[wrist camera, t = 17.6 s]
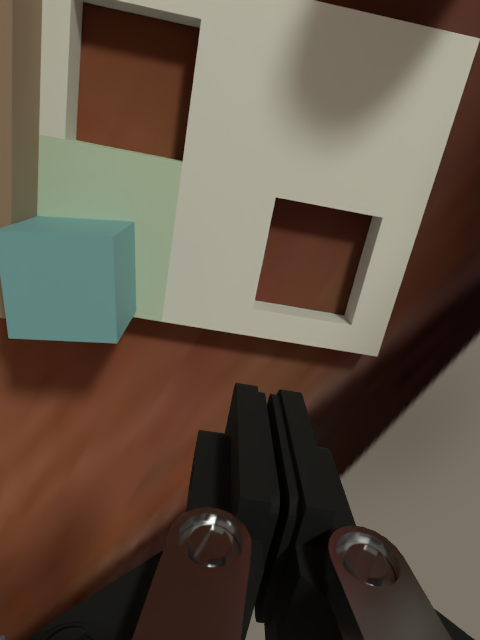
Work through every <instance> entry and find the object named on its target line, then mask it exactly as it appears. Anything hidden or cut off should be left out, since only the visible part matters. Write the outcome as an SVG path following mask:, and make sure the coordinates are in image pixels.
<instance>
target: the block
mask: <svg viewBox="0 0 480 640" xmlns="http://www.w3.org/2000/svg"><path fill="white" fill-rule="evenodd" d="M0 277H1V285H2V293H3V300H4V308H5V315H6V323H7V330H8V338H11V339H32V340H54V341H75V342H96V343H118V341H119V340H120V338H121V336H122V334H123V333H124V331H125V329H126V328H127V326H128V324H129V323H130V321H131V319H132V317H133V316H134V314H135V312H136V273H135V227H134V222H133V221H117V220H100V219H83V218H66V217H49V216H36V217H33V218H30V219H27V220H24V221H21V222H18V223H15V224H12V225H9V226H6V227H2V228H0Z"/></svg>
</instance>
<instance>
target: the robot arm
mask: <svg viewBox="0 0 480 640" xmlns="http://www.w3.org/2000/svg"><path fill="white" fill-rule="evenodd" d="M254 605H255V618H256V622H259V623H264V625H265V639H266V640H474V639H473V638H472V637H470V636H469V635H467V634H466V633H465V632H464V631H463V630H461V629H460V628H458V627H457V626H456V625H455V624H454V623H452V622H451V621H450V620H448V619H447V618H446V617H444V616H443V615H442V614H441V613H439V612H438V611H437V610H435V609H434V608H433V606H432V605H431V603H430V601H429V599H428V598H427V596H426V594H425V593H424V591H423V589H422V588H421V586H420V584H419V583H418V581H417V579H416V577H415V576H414V574H413V572H412V571H411V569H410V567H409V565H408V564H407V562H406V560H405V559H404V557H403V556H402V554H401V553H400V552H399V550H398V549H397V548H396V547H395V546H394V545H393V544H392V543H391V542H390V541H388V539H386V538H385V537H383V536H381V535H380V534H378V533H377V532H375V531H373V530H369V529H367V528H364V527H359V526H356V524H355V522H354V519H353V516H352V513H351V510H350V507H349V504H348V501H347V498H346V495H345V492H344V489H343V487H342V484H341V480H340V477H339V474H338V472H337V469H336V466H335V463H334V460H333V457H332V454H331V452H330V450H329V449H327V448H322V447H318V446H317V443H316V439H315V436H314V433H313V429H312V426H311V423H310V419H309V416H308V413H307V409H306V406H305V403H304V399H303V396H302V394H301V393H299V392H292V391H286V390H279V391H278V393H277V395H275V394H270V396H269V399H268V403H267V404H266V397H265V393H261V392H258V387H257V386H253V385H246V384H240V383H236V384H235V387H234V391H233V396H232V401H231V406H230V410H229V415H228V420H227V425H226V430H225V434H224V433H217V432H210V431H203V430H199V432H198V436H197V442H196V447H195V453H194V459H193V465H192V471H191V478H190V485H189V492H188V500H187V509H186V512H185V513H183V514H182V515H181V516H180V517H179V518H177V519H176V521H175V522H174V524H173V526H172V528H171V530H170V532H169V535H168V538H167V541H166V544H165V547H164V550H163V551H161V552H160V553H158V554H156V555H155V556H153V557H152V558H150V559H149V560H147V561H145V562H144V563H142V564H141V565H139V566H138V567H136V568H134V569H133V570H131V571H130V572H128V573H127V574H125V575H123V576H122V577H120V578H119V579H117V580H115V581H114V582H112V583H111V584H109V585H108V586H106V587H104V588H103V589H101V590H100V591H98V592H97V593H95V594H93V595H92V596H90V597H89V598H87V599H86V600H84V601H82V602H81V603H79V604H78V605H76V606H75V607H73V608H71V609H70V610H68V611H67V612H65V613H64V614H62V615H60V616H59V617H57V618H56V619H54V620H53V621H51V622H49V623H48V624H46V625H45V626H43V627H42V628H41V629H40V630H39V631H37V632H36V633H35V634H34V635H32V636H31V637H30V638H29V640H245V638H246V634H247V630H248V627H249V623H250V620H251V616H252V612H253V609H254ZM0 640H6V635H4V636H0Z"/></svg>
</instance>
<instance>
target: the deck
mask: <svg viewBox="0 0 480 640" xmlns="http://www.w3.org/2000/svg"><path fill="white" fill-rule="evenodd" d="M83 2H85V3H89V4H94V5H99V6H103V7H108V8H112V9H117V10H121V11H126V12H130V13H135V14H139V15H144V16H148V17H153V18H157V19H162V20H167V21H171V22H176V23H180V24H185V25H189V26H194V27H198V28H200V33H199V41H198V48H197V56H196V64H195V71H194V79H193V86H192V94H191V102H190V109H189V117H188V124H187V132H186V140H185V147H184V155H183V161H181V160H175V159H170V158H165V157H160V156H155V155H150V154H144V153H139V152H134V151H129V150H124V149H119V148H113V147H108V146H103V145H98V144H93V143H88V142H83V141H77V140H76V129H77V109H78V90H79V70H80V51H81V31H82V12H83ZM479 40H480V39H479V38H475V37H471V36H466V35H462V34H458V33H453V32H449V31H445V30H440V29H436V28H432V27H427V26H423V25H419V24H414V23H410V22H406V21H401V20H397V19H393V18H388V17H384V16H380V15H375V14H371V13H367V12H362V11H358V10H354V9H349V8H345V7H341V6H336V5H332V4H328V3H323V2H319V1H315V0H0V228H2V227H6V226H9V225H12V224H15V223H18V222H21V221H24V220H27V219H30V218H33V217H36V216H49V217H66V218H83V219H100V220H117V221H133V222H134V227H135V273H136V312H135V314H134V316H133V317H136V318H142V319H148V320H155V321H161V322H167V323H173V324H179V325H186V326H192V327H198V328H204V329H210V330H216V331H223V332H229V333H235V334H241V335H247V336H253V337H260V338H266V339H272V340H278V341H284V342H291V343H297V344H303V345H309V346H315V347H321V348H328V349H334V350H340V351H346V352H352V353H358V354H365V355H371V356H378V353H379V350H380V347H381V344H382V341H383V338H384V334H385V331H386V328H387V325H388V322H389V319H390V316H391V313H392V310H393V307H394V303H395V300H396V297H397V294H398V291H399V288H400V285H401V282H402V279H403V276H404V273H405V269H406V266H407V263H408V260H409V257H410V254H411V251H412V248H413V245H414V242H415V238H416V235H417V232H418V229H419V226H420V223H421V220H422V217H423V214H424V211H425V208H426V204H427V201H428V198H429V195H430V192H431V189H432V186H433V183H434V180H435V177H436V173H437V170H438V167H439V164H440V161H441V158H442V155H443V152H444V149H445V146H446V142H447V139H448V136H449V133H450V130H451V127H452V124H453V121H454V118H455V115H456V112H457V108H458V105H459V102H460V99H461V96H462V93H463V90H464V87H465V84H466V81H467V77H468V74H469V71H470V68H471V65H472V62H473V59H474V56H475V53H476V50H477V47H478V43H479ZM276 197H277V198H282V199H287V200H293V201H298V202H303V203H308V204H314V205H319V206H324V207H330V208H335V209H340V210H345V211H351V212H356V213H361V214H366V215H372V220H371V223H370V227H369V230H368V234H367V237H366V241H365V244H364V248H363V252H362V255H361V259H360V262H359V266H358V269H357V273H356V276H355V280H354V283H353V287H352V290H351V294H350V297H349V301H348V304H347V308H346V311H345V315H338V314H332V313H327V312H321V311H315V310H309V309H303V308H297V307H291V306H285V305H279V304H273V303H267V302H262V301H256V300H255V296H256V291H257V286H258V281H259V276H260V272H261V267H262V262H263V257H264V252H265V247H266V242H267V238H268V233H269V228H270V223H271V218H272V213H273V208H274V204H275V199H276ZM0 318H4V319H6V315H5V308H4V300H3V293H2V285H1V277H0Z"/></svg>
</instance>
